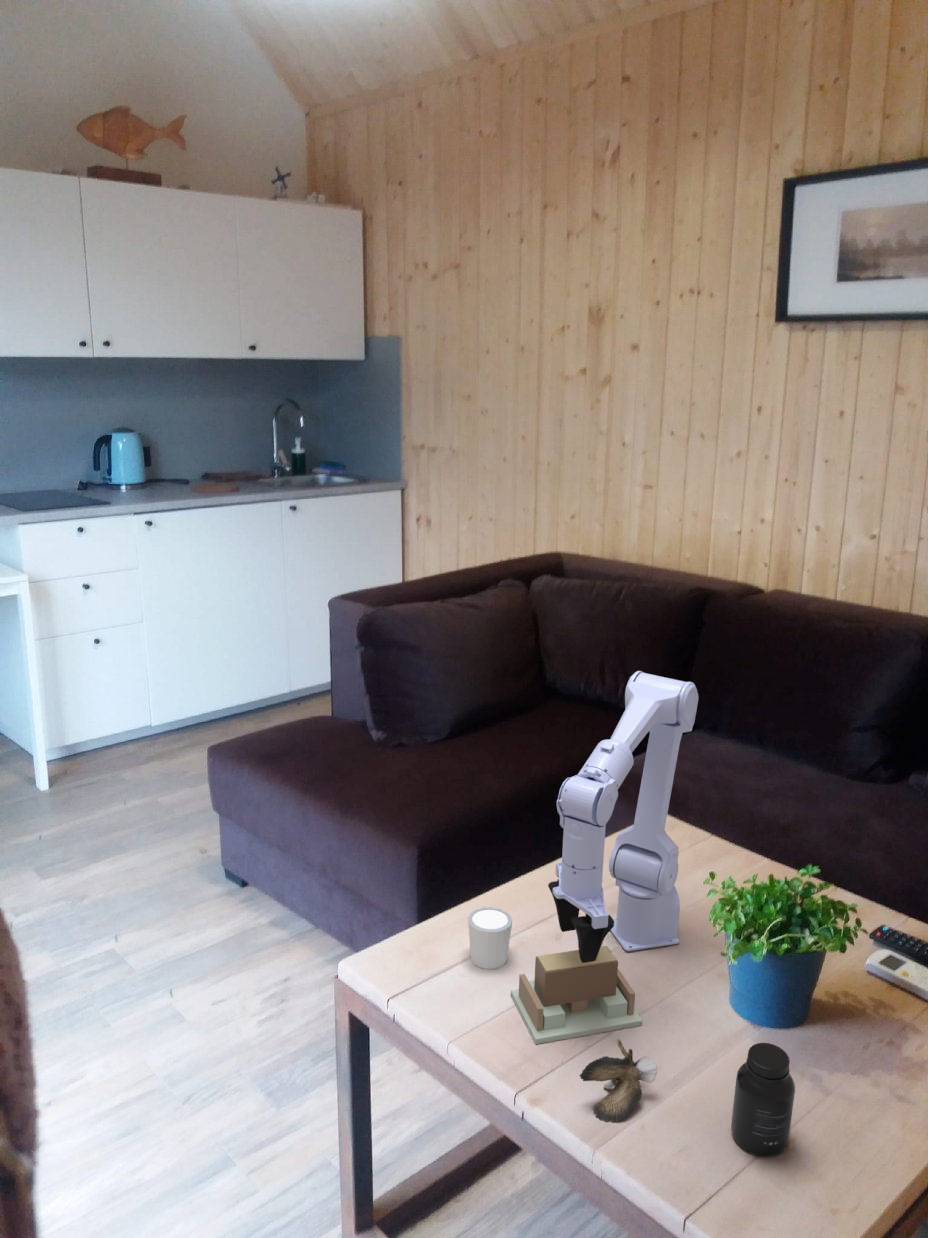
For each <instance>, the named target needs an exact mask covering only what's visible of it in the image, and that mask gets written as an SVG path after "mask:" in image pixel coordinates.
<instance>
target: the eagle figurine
mask: <svg viewBox="0 0 928 1238" xmlns="http://www.w3.org/2000/svg"><path fill="white" fill-rule="evenodd" d="M617 1046H618V1048H619V1050H620V1052H621V1053H622V1055H623V1056H624V1057H623V1058H619V1057H609V1055H606V1056H604V1055H603V1056H602V1057H599V1058H596V1059H595V1060H592V1061H591V1062H589V1063H588V1064H587V1065H586V1066H585V1067H584V1069H582V1071H581V1073H580V1074H579V1078H580V1079H581V1080H582V1081H583V1082H593V1081H595V1082H605V1083H604V1085H603V1089H607V1090H610V1089H611V1091H609V1093H607V1095H606V1096H605V1097H604V1098H602V1099H601V1100H600V1101H598V1102H596V1103H595V1104H594V1105H593V1106H592V1109H593V1114H594V1116H595V1118H596V1119H598V1120H599V1121H600V1122H601V1121H603V1122H605V1123H607V1122H611V1123H614V1122H617V1123H618V1122H620V1121H621V1122H622V1120H624V1119H626V1118H627V1117H628V1116H629V1115H630V1113H631V1111H633V1108H634V1107H635V1106H636V1105H637V1104H638V1102H640V1101H641V1099H642V1095H643V1090H642V1087H641V1085H640V1084H641V1082H644V1083H648V1084H651V1083H653V1082H654V1080H655V1078H656V1076H657V1074H658V1070H657V1069H658V1066H657V1064H656V1062H655V1061H654V1060H653V1059H651V1058H650V1057H646V1056H643V1057H641V1058H640V1059H638V1060H635V1061H634V1058H633V1056H634V1055H633V1049H632V1048H628V1051H627V1050H626V1049H625V1047H624V1045H623V1042H622V1040H621V1039H620V1038H618V1039H617ZM640 1081H641V1082H640Z"/></svg>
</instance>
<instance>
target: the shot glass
mask: <svg viewBox="0 0 928 1238" xmlns="http://www.w3.org/2000/svg"><path fill="white" fill-rule="evenodd" d="M467 921H468V924H467V925H468V936H469V948H470V949H469V950H470V959H471V962H472V963H473V964H474V965H475V966H477V967H479V968H480V969H485V970H495V969H498V968H501V967H502V966H504V965H505V964H506V963H507V959H508V954H509V953H508V952H509V948H510V947H509V946H510V940H511V939H510V938H511V933H512V932H511V931H512V925H513V919H512V916H511V914H509V913H508V912H507V911H506V910H502V909H500V908H497V907H481V908H478V909H475V910H474V911H472V912H470V913H469V916H468V917H467Z"/></svg>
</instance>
